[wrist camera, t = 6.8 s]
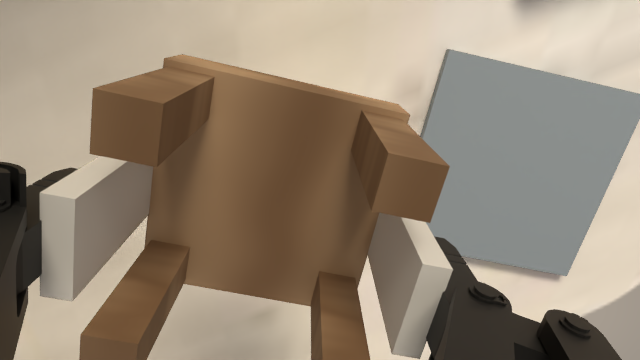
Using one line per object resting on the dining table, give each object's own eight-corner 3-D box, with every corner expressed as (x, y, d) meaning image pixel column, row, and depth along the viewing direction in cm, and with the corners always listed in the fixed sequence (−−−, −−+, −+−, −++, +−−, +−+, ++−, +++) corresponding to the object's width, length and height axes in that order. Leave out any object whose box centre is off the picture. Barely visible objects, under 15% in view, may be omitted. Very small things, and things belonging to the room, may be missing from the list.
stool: (159, 249, 18) (70, 382, 11) (182, 54, 15) (83, 76, 8) (345, 283, 18) (365, 427, 12) (398, 104, 16) (462, 159, 9)
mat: (389, 238, 32) (391, 242, 31) (446, 49, 28) (449, 49, 27) (562, 272, 33) (566, 276, 33) (643, 95, 29) (649, 96, 28)
